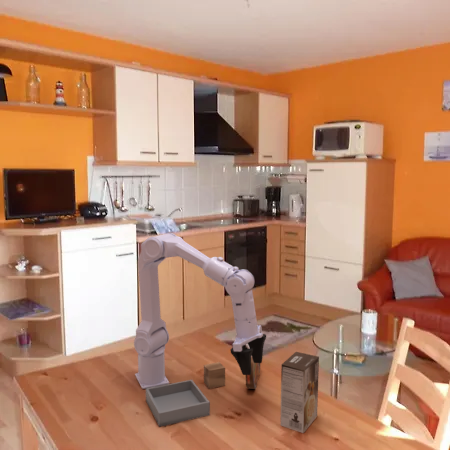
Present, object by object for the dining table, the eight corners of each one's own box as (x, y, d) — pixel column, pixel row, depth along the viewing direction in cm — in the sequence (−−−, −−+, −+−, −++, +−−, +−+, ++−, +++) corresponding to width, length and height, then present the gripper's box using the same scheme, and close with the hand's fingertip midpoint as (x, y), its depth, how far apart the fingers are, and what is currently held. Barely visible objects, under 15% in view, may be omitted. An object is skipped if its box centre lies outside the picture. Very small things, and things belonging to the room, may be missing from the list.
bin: (145, 400, 121) (145, 388, 120) (192, 391, 126) (191, 379, 126) (159, 426, 109) (159, 413, 108) (209, 414, 114) (209, 402, 114)
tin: (254, 394, 124) (254, 366, 123) (243, 393, 125) (243, 364, 124) (261, 370, 139) (261, 344, 138) (251, 369, 140) (251, 343, 139)
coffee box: (294, 408, 117) (296, 350, 115) (317, 416, 114) (320, 356, 112) (279, 426, 109) (280, 363, 107) (304, 434, 106) (306, 370, 104)
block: (203, 382, 131) (203, 365, 130) (219, 379, 133) (219, 361, 132) (208, 389, 127) (208, 370, 127) (225, 385, 130) (225, 367, 129)
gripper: (248, 326, 108) (256, 381, 109) (269, 309, 121) (276, 358, 122) (222, 326, 111) (230, 379, 112) (245, 309, 124) (252, 357, 125)
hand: (252, 368), depth 117 cm, fingers open, 7 cm apart
